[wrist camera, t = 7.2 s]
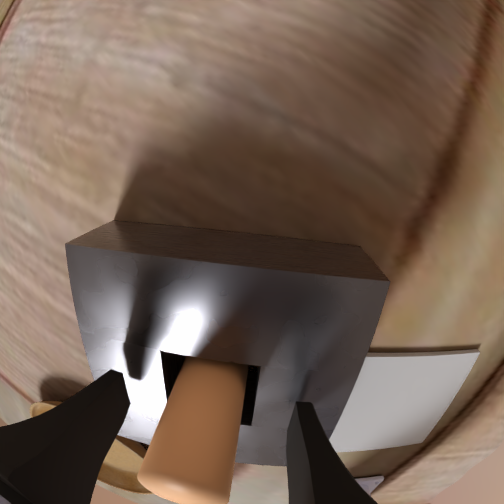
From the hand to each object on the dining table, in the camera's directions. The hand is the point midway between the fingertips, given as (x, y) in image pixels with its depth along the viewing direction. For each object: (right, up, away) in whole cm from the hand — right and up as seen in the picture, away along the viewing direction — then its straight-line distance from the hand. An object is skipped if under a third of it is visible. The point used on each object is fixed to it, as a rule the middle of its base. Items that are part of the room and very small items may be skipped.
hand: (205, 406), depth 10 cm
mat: (+12, -5, +6) cm, 14 cm away
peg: (0, +1, +5) cm, 5 cm away
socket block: (0, +1, +5) cm, 5 cm away
